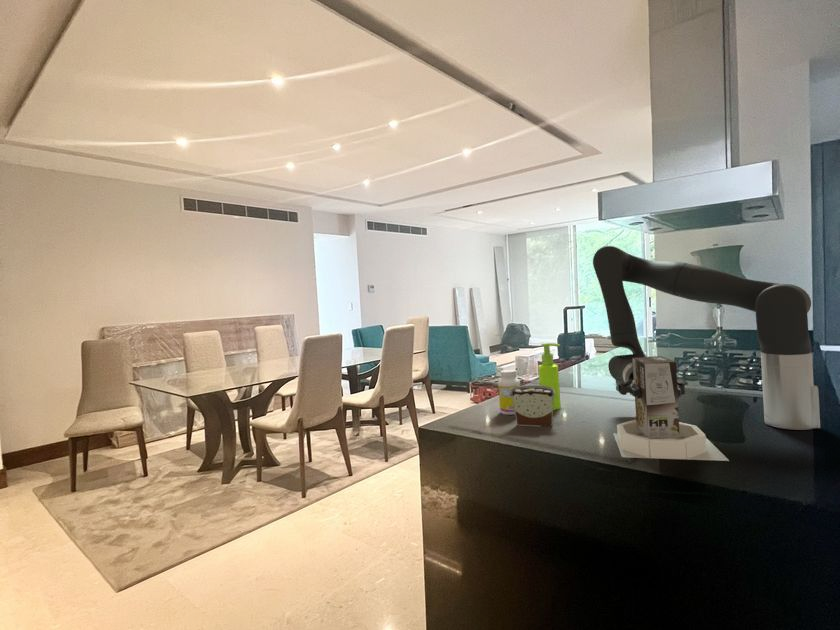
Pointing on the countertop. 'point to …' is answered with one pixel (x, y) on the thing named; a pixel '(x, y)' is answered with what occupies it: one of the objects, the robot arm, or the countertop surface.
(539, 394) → the food container
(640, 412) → the coffee box
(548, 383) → the soap dispenser
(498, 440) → the countertop surface
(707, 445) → the mat
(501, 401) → the supplement bottle
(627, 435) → the bowl
